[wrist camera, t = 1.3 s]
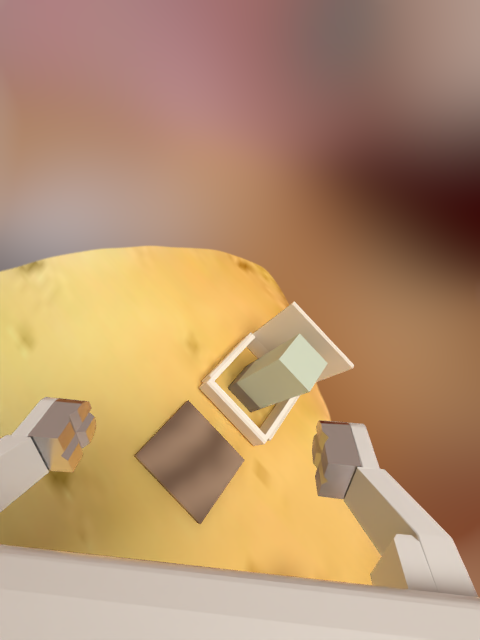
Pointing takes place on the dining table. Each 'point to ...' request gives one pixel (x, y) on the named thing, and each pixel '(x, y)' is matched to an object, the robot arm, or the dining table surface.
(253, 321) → the dining table surface
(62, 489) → the dining table surface
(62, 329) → the dining table surface
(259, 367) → the sage box
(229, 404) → the white backed tray
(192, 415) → the walnut board
